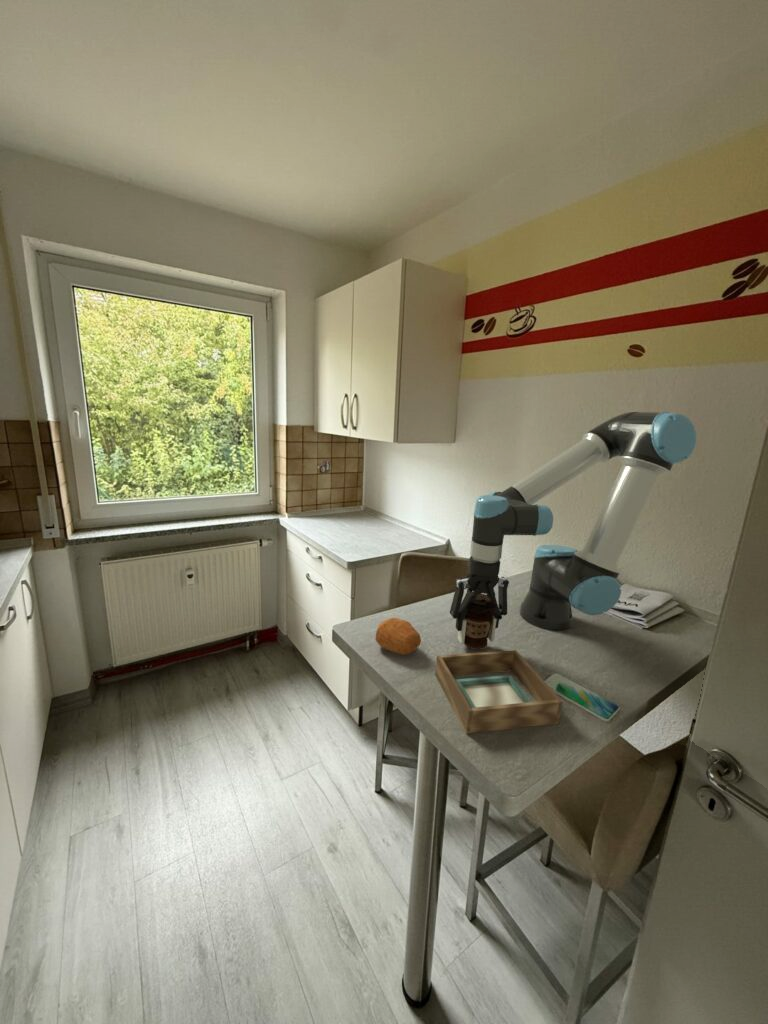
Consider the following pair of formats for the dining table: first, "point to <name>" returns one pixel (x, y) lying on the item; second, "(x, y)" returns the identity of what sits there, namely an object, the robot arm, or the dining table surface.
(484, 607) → the coffee cup
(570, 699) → the smartphone
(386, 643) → the potato
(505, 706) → the crate
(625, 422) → the robot arm
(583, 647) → the dining table surface
